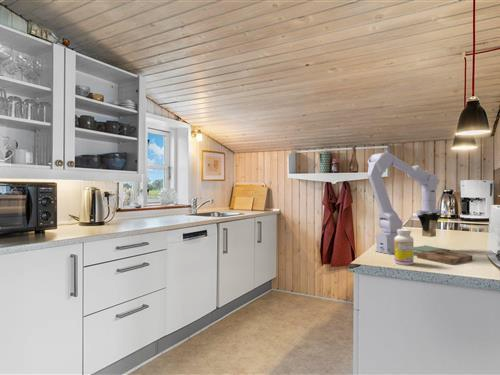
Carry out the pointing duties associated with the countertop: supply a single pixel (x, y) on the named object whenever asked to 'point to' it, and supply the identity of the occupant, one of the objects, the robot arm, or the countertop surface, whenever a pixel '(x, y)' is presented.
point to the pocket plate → (444, 256)
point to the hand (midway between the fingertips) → (428, 230)
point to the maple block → (430, 230)
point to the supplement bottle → (404, 247)
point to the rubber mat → (428, 248)
